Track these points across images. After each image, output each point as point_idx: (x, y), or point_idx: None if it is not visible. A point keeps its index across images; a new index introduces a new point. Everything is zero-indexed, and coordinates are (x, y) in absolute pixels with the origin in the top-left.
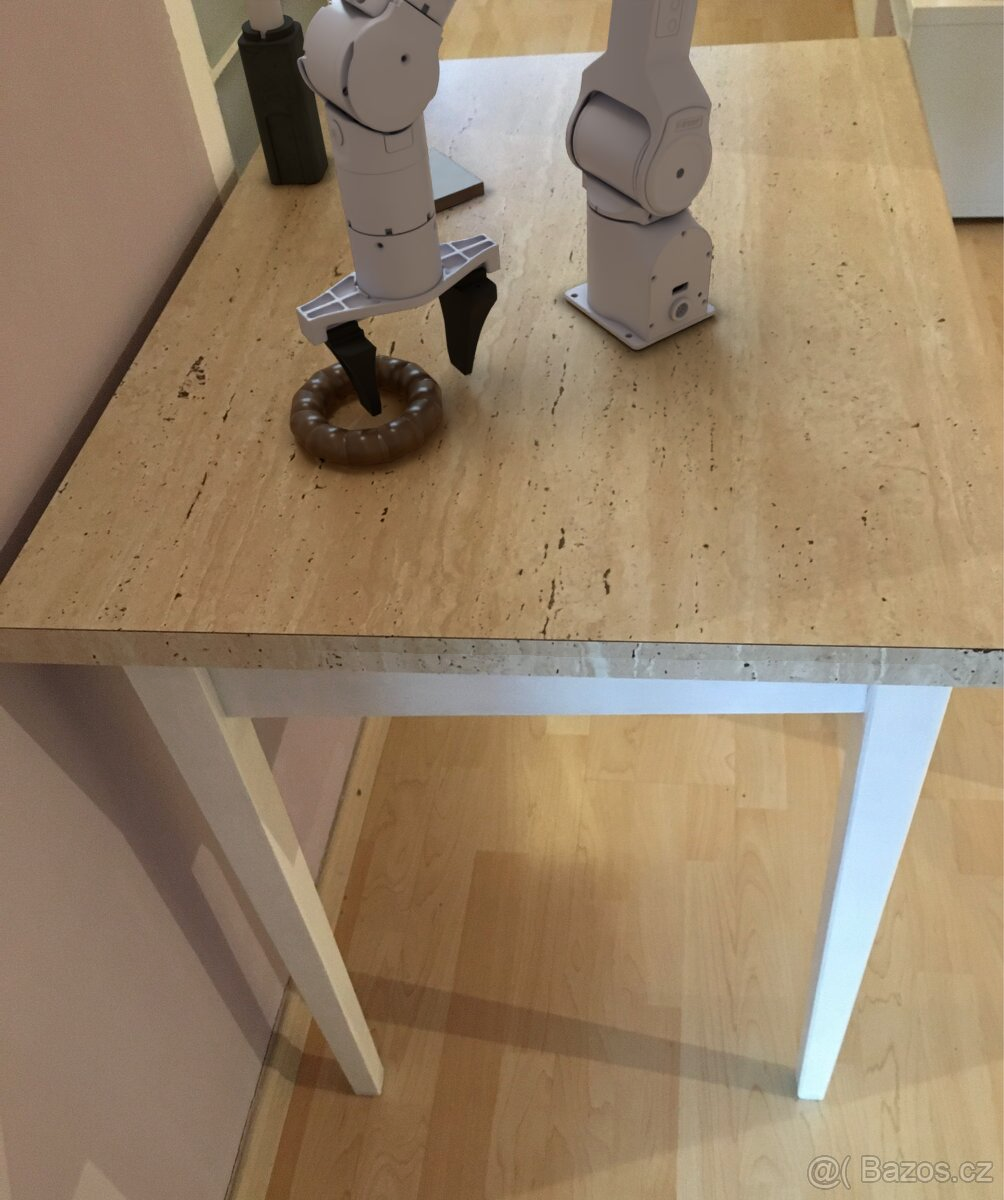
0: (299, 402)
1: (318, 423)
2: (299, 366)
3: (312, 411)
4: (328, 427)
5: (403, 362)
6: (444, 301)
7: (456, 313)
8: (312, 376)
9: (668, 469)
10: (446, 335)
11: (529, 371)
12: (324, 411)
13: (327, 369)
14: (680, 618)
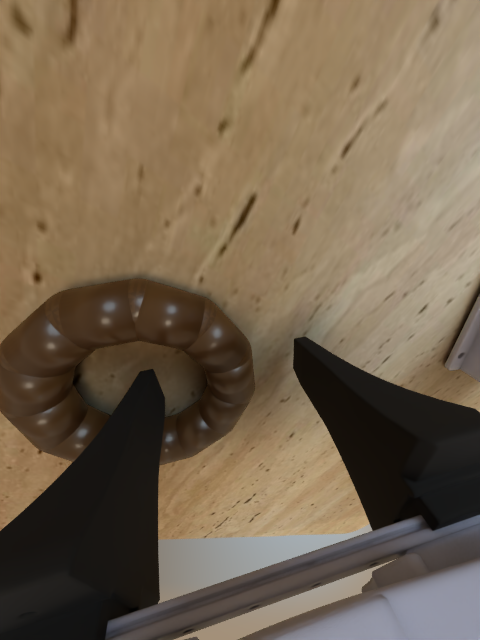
0: (11, 395)
1: (53, 443)
2: (21, 159)
3: (42, 416)
4: (70, 449)
5: (228, 363)
6: (363, 423)
7: (352, 446)
8: (42, 332)
9: (342, 466)
10: (317, 362)
11: (356, 354)
12: (72, 378)
13: (79, 330)
14: (270, 530)
